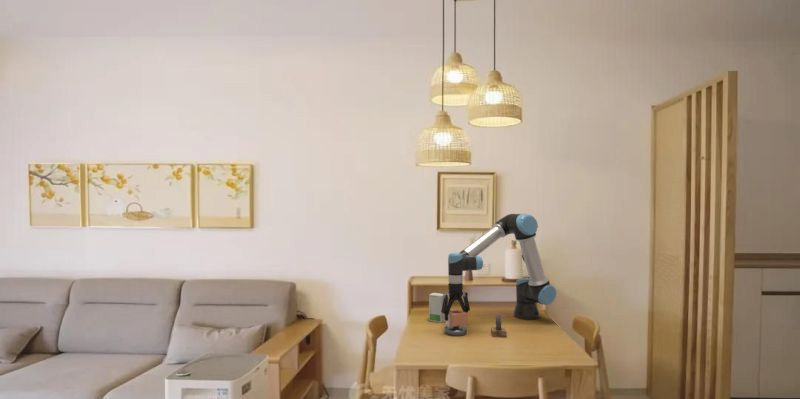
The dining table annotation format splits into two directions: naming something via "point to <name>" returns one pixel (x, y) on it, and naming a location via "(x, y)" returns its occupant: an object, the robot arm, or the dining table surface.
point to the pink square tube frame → (457, 318)
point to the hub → (455, 330)
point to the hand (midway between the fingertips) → (455, 325)
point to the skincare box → (436, 307)
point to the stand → (498, 328)
